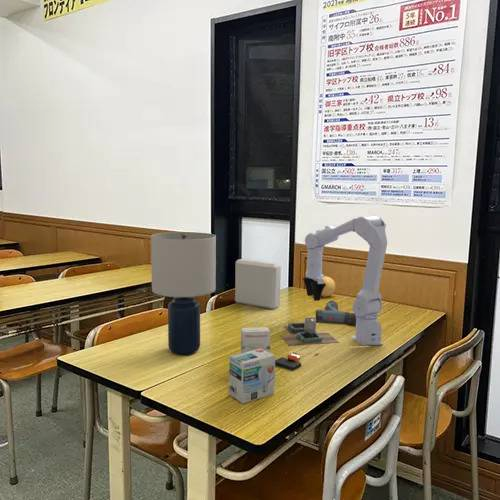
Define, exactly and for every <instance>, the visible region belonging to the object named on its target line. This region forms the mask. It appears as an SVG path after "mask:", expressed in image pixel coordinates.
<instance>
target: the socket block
mask: <svg viewBox="0 0 500 500" xmlns="http://www.w3.org/2000/svg"><path fill="white" fill-rule="evenodd" d="M304 325H305V322H291V323H290V322H289V323H288V324H287V325H283V326H282V327H283V328H284V329H285V330H286V331H287V332H288V333H289V335H297V333H298V332H304Z"/></svg>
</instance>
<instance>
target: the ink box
mask: <svg viewBox="0 0 500 500" xmlns="http://www.w3.org/2000/svg"><path fill="white" fill-rule="evenodd" d="M240 331H241V332H240V353H244V352H248V351H252V350H256V349H260V348H261V349H263V350H265V351H267V352H269V353H271V330H270V328H269V327H268V326H267V327H266V326H263V327H262V326H261V327H260V326H259V327H241V328H240Z"/></svg>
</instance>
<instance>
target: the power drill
mask: <svg viewBox="0 0 500 500" xmlns="http://www.w3.org/2000/svg"><path fill="white" fill-rule="evenodd" d="M315 319H316V322H321V323H336V324H345V325H356V315H355V313H354V312H353V313H351V312H348V311H343V310H339V304H338V302H336V300H329V301H328V302H327V303H326V304H325V307H324V309H323V310H322V309H316V310H315Z"/></svg>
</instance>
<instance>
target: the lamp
mask: <svg viewBox="0 0 500 500" xmlns="http://www.w3.org/2000/svg"><path fill="white" fill-rule="evenodd" d="M216 240H217V235H216V234H213V233H207V232H199V231H197V232H196V231H195V232H194V231H171V232H160V233H153V234H151V235H150V251H151V252H150V253H151V255H150V257H151V261H150V263H151V265H150V266H151V292H152V293H153V294H155V295H157V296H162V297H167V298H168V297H169V298H173V299H172V301H170V302H169V303H168V305H167V332H168V333H167V335H168V337H167V339H168V340H167V343H168V350H169V351H170V352H171V353H172V354H174V355H180V356H187V355H192V354H195V353H196V352H198V351H199V350H200V347H201V304H200V302H199V301H198V300H195V299H196V297H202V296H203V297H204V296H208V295H210V294H213V293H214V292H216V289H217V288H216V286H217V285H216V282H217V281H216V280H217V279H216V278H217V277H216V275H217V273H216V269H217V267H216V266H217V259H216V256H217V251H216V250H217V249H216V247H217V245H216V244H217V241H216Z"/></svg>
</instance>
